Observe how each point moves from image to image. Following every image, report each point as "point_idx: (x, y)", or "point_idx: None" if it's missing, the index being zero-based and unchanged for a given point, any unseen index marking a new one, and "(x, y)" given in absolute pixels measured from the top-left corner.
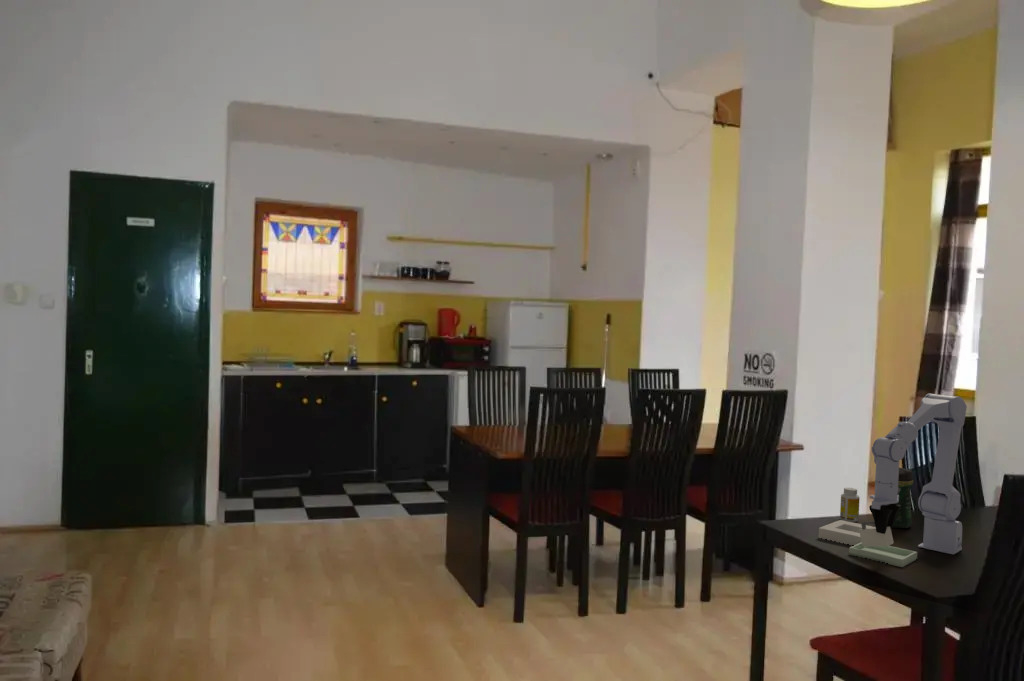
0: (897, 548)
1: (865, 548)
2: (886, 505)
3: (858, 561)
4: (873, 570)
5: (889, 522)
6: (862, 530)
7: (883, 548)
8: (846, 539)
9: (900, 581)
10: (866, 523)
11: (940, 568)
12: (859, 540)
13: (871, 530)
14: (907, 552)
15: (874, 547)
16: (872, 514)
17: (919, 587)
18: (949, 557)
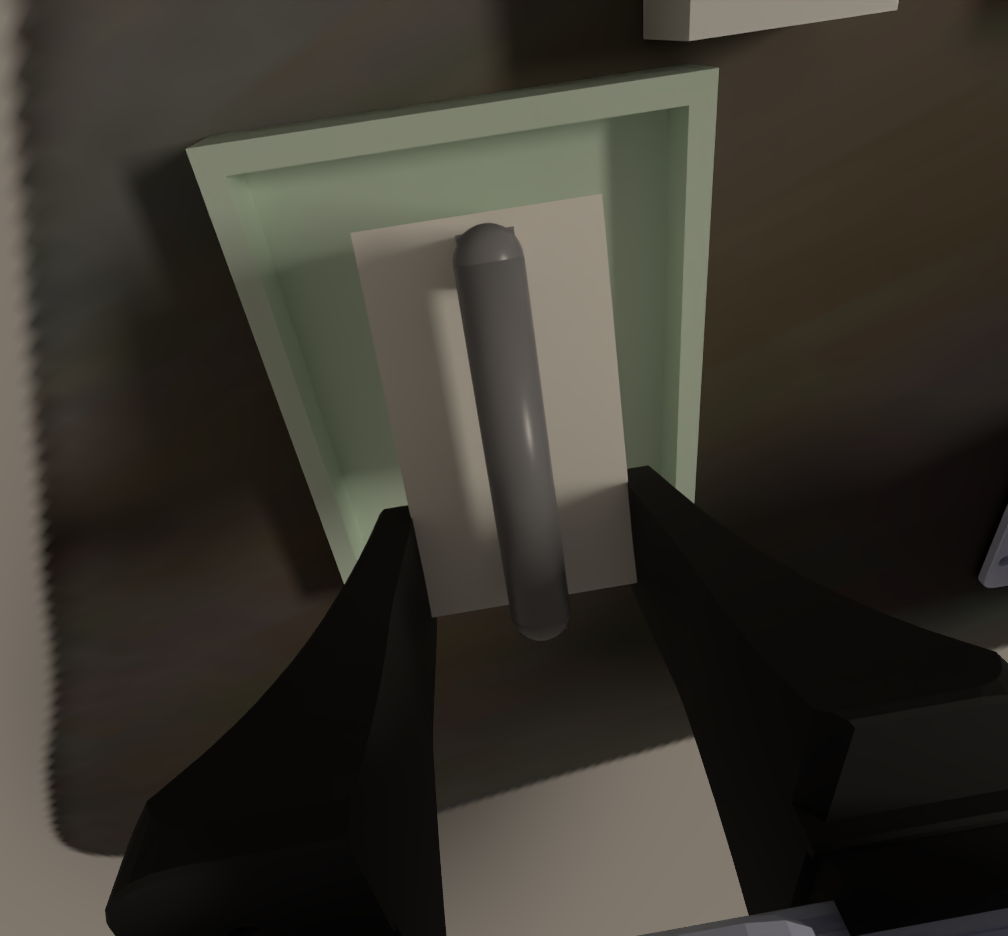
0: (676, 439)
1: (560, 154)
2: (788, 844)
3: (117, 335)
4: (46, 531)
5: (659, 611)
6: (365, 292)
7: (668, 305)
8: None
9: (57, 706)
10: (466, 346)
11: (579, 670)
12: (671, 6)
13: (396, 433)
14: None
15: (669, 205)
16: (246, 714)
17: (90, 779)
18: (896, 589)
